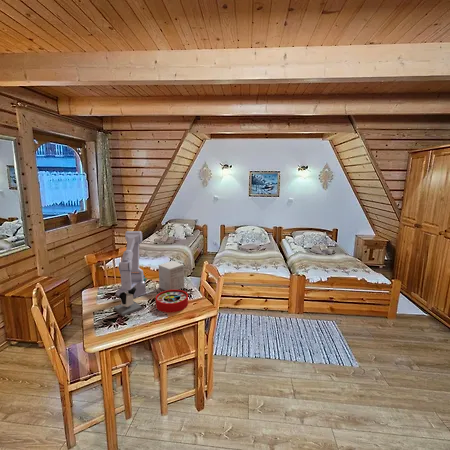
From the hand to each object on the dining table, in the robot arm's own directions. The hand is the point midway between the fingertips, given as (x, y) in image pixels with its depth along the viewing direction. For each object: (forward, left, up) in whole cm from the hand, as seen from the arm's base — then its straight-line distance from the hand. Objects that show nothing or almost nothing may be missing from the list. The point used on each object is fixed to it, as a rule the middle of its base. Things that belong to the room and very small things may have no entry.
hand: (127, 301), depth 157 cm
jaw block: (0, 0, -2) cm, 2 cm away
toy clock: (-22, +14, -5) cm, 27 cm away
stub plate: (0, 0, -5) cm, 5 cm away
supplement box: (-37, -8, -5) cm, 38 cm away
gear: (-23, -30, -5) cm, 39 cm away
